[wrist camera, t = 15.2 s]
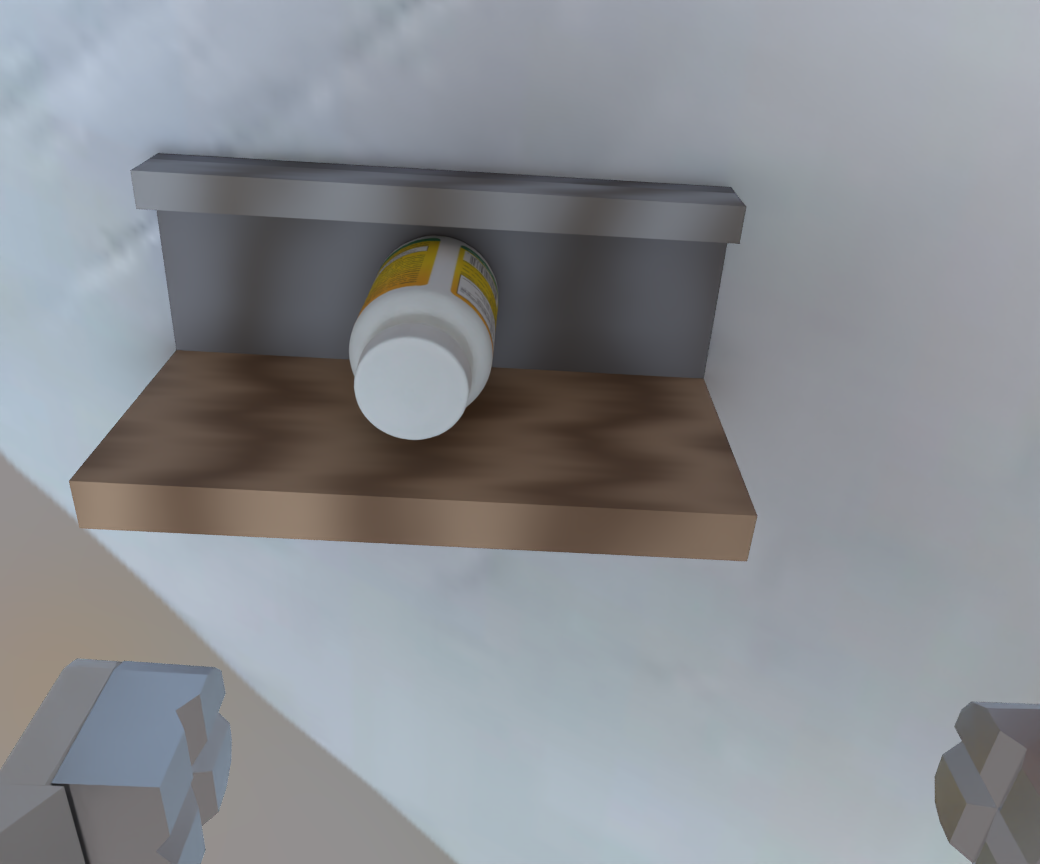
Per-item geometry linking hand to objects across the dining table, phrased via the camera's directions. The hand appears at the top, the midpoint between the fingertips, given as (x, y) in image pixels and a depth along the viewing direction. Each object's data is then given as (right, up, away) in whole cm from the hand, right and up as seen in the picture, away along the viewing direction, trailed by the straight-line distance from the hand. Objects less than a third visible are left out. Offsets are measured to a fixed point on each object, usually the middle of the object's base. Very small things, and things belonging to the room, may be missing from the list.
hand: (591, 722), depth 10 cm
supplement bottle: (-4, +9, +30) cm, 31 cm away
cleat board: (-4, +10, +30) cm, 32 cm away
